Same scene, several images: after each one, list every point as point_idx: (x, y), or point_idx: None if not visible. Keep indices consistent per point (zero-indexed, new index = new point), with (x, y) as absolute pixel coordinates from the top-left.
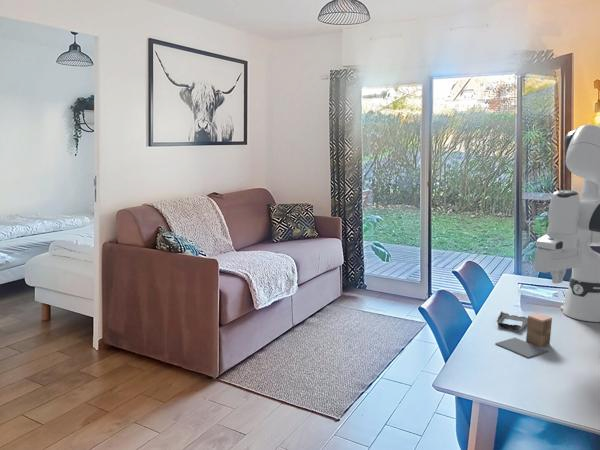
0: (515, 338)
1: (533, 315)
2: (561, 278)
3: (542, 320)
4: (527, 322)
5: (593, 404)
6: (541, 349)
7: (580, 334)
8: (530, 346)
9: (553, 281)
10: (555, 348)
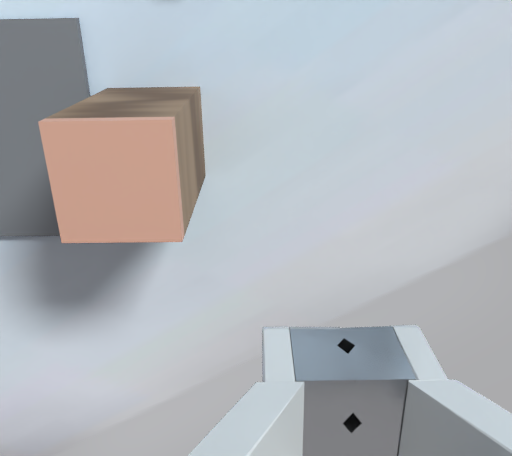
0: (67, 32)
1: (86, 139)
2: (386, 451)
3: (66, 242)
4: None
5: None
6: None
7: (501, 169)
8: None
9: (262, 355)
10: None
